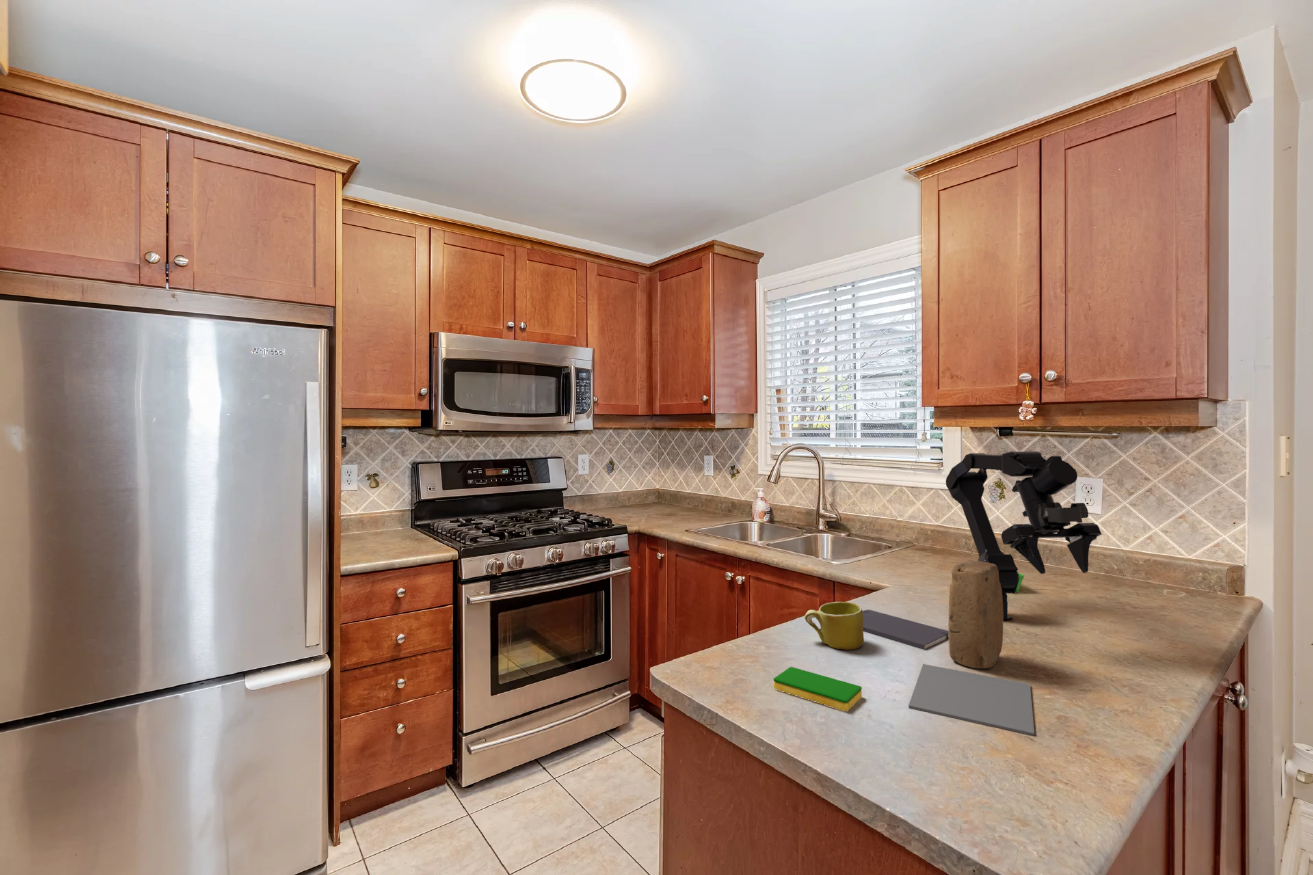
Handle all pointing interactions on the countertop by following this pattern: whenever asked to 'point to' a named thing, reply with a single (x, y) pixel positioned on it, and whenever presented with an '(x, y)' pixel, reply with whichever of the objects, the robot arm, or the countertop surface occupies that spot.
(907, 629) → the notebook
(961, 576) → the brown rough stone
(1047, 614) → the countertop surface
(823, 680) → the dish sponge
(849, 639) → the mug
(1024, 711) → the mat
